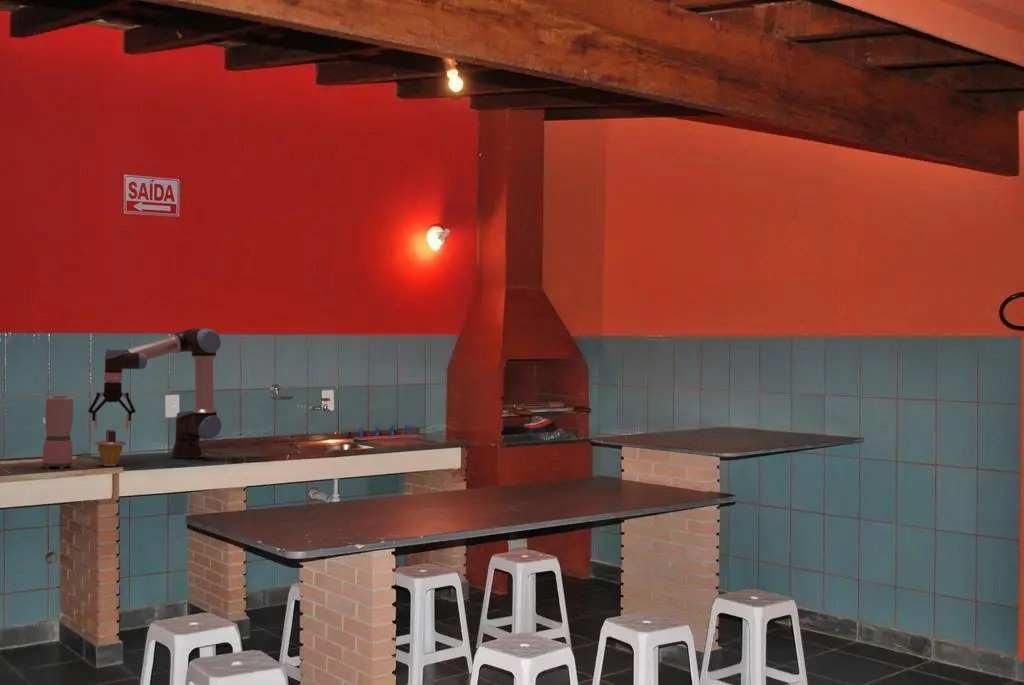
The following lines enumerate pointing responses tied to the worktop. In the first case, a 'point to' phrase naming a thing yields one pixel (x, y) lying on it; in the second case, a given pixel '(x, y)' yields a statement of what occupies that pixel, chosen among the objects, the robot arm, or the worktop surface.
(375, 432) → the worktop surface
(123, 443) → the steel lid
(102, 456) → the plant pot
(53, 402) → the blender
